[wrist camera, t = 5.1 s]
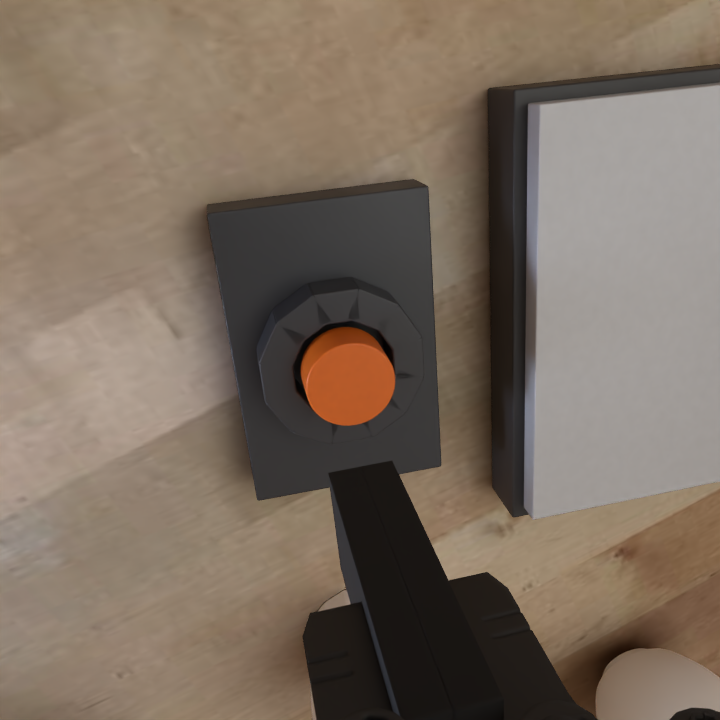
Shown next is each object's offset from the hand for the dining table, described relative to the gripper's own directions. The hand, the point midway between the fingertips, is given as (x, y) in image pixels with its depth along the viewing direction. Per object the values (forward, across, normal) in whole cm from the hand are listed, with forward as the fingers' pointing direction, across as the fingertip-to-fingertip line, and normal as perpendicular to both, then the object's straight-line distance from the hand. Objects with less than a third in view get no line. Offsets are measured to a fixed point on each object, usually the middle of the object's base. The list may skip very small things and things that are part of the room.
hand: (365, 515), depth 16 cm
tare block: (+13, +1, -1) cm, 13 cm away
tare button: (+10, +1, -1) cm, 10 cm away
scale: (+13, +16, -1) cm, 21 cm away
